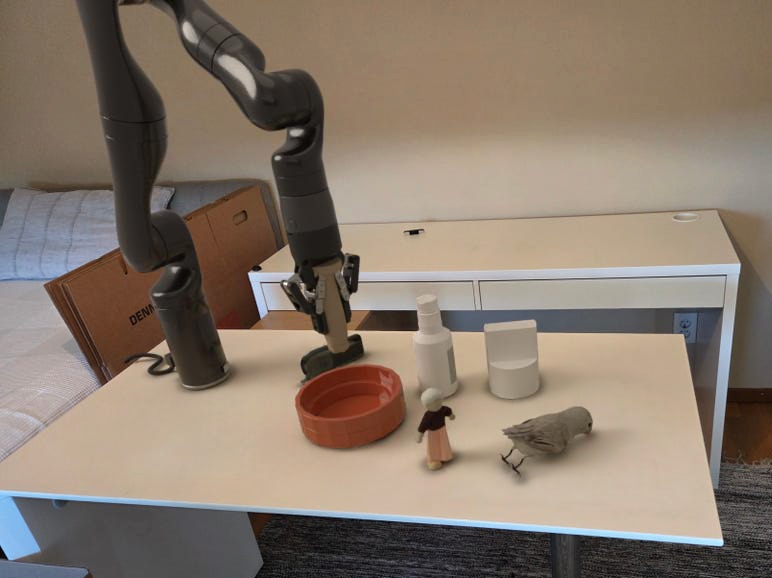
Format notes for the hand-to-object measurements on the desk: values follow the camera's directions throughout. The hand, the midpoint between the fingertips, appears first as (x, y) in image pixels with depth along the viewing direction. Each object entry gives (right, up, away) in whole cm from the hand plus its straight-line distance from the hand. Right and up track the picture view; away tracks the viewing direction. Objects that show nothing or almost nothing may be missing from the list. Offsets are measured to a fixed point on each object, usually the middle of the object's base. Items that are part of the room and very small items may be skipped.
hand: (334, 327), depth 100 cm
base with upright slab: (+29, -10, +14) cm, 34 cm away
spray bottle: (+16, -11, +15) cm, 24 cm away
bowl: (+2, -15, +9) cm, 18 cm away
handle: (0, -4, +2) cm, 4 cm away
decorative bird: (+34, -19, -4) cm, 39 cm away
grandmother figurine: (+17, -20, -3) cm, 27 cm away
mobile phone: (-6, -7, +26) cm, 27 cm away
